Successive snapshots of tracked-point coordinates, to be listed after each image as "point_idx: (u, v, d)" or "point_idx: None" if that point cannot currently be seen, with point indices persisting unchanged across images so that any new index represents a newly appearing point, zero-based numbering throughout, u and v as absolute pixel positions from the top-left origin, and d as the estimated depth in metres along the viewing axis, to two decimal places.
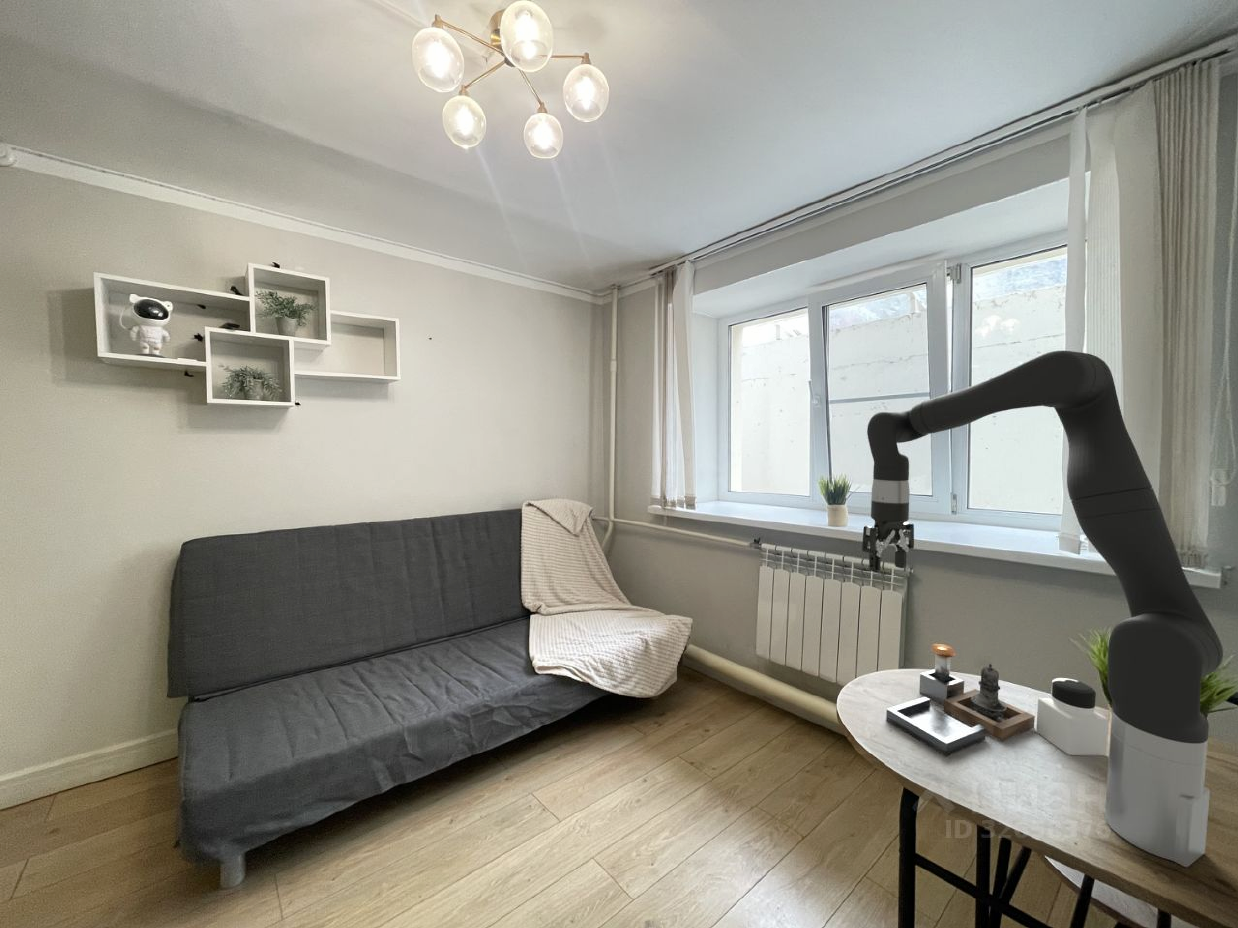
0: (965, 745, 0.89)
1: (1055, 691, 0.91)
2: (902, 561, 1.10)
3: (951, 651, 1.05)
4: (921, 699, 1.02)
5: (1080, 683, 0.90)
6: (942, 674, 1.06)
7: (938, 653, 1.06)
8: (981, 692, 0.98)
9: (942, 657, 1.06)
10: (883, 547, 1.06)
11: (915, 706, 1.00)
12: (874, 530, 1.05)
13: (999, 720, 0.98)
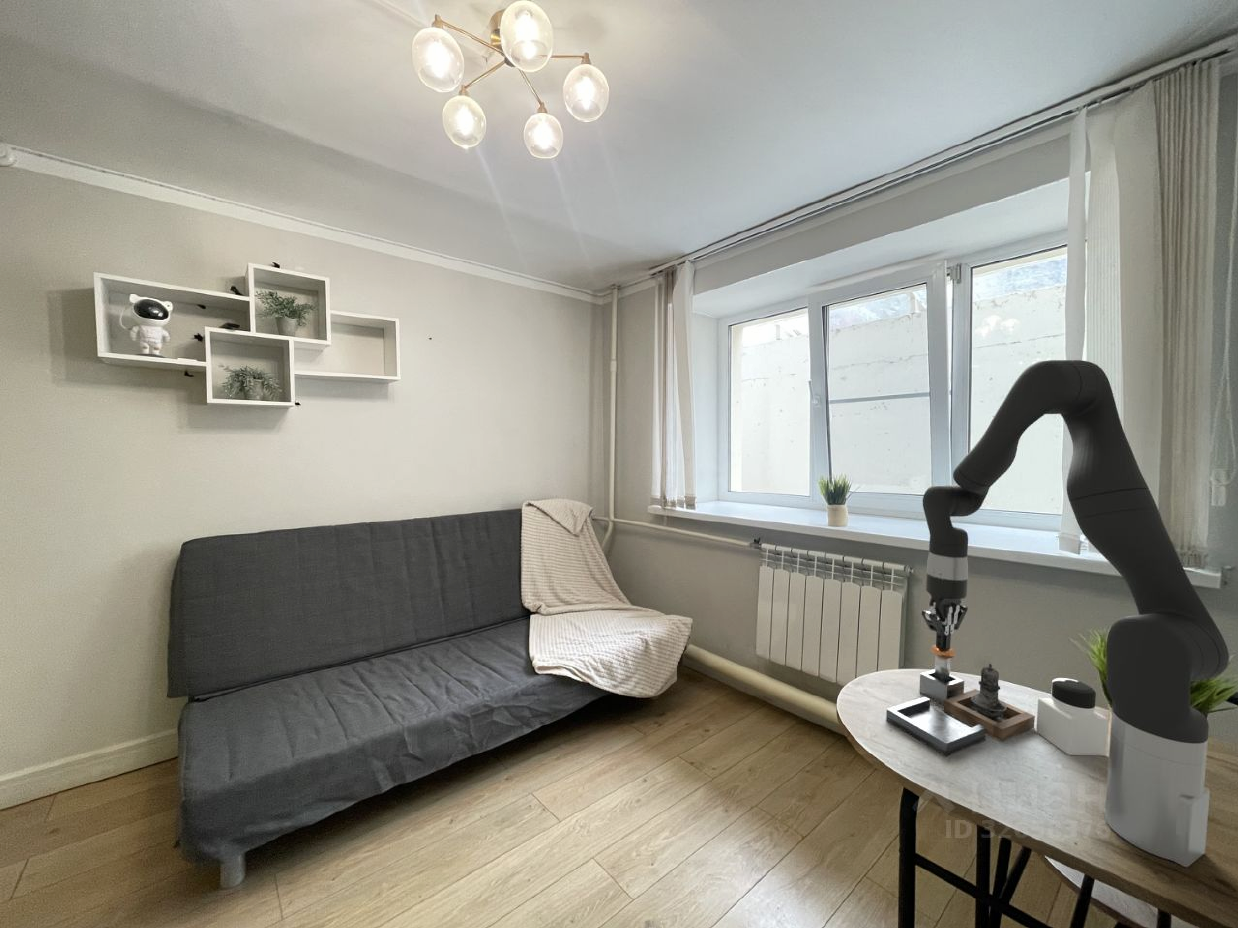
0: (965, 745, 0.89)
1: (1055, 691, 0.91)
2: None
3: (951, 652, 1.05)
4: (921, 699, 1.02)
5: (1080, 683, 0.90)
6: (942, 675, 1.06)
7: (938, 653, 1.06)
8: (981, 692, 0.98)
9: (942, 658, 1.06)
10: (948, 625, 1.05)
11: (915, 706, 1.00)
12: (933, 617, 1.03)
13: (999, 720, 0.98)
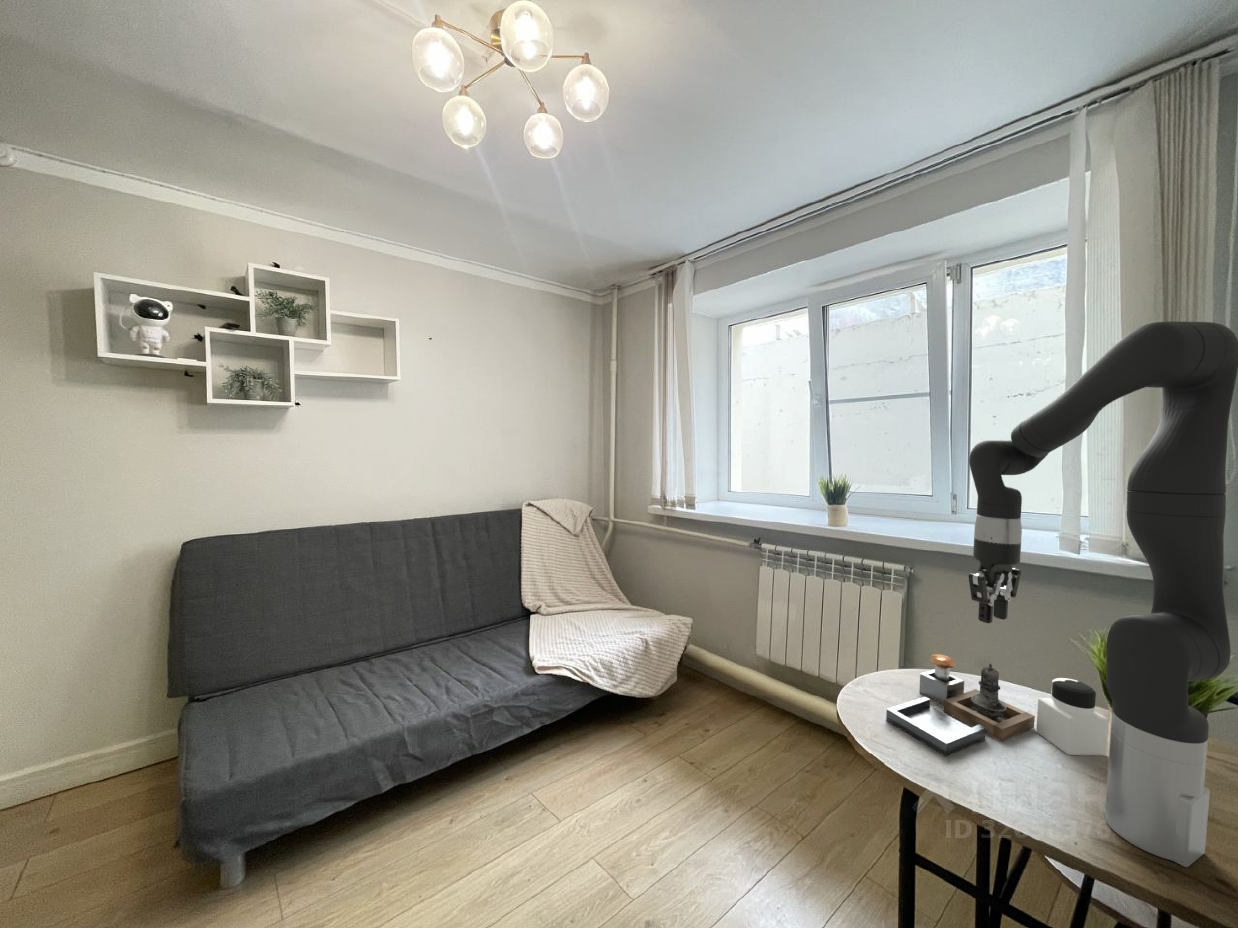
0: (965, 745, 0.89)
1: (1055, 691, 0.91)
2: (1003, 612, 0.98)
3: (951, 662, 1.05)
4: (921, 699, 1.02)
5: (1080, 683, 0.90)
6: None
7: (937, 663, 1.06)
8: (981, 692, 0.98)
9: (941, 668, 1.06)
10: (995, 594, 0.95)
11: (915, 706, 1.00)
12: (982, 579, 0.93)
13: (999, 720, 0.98)
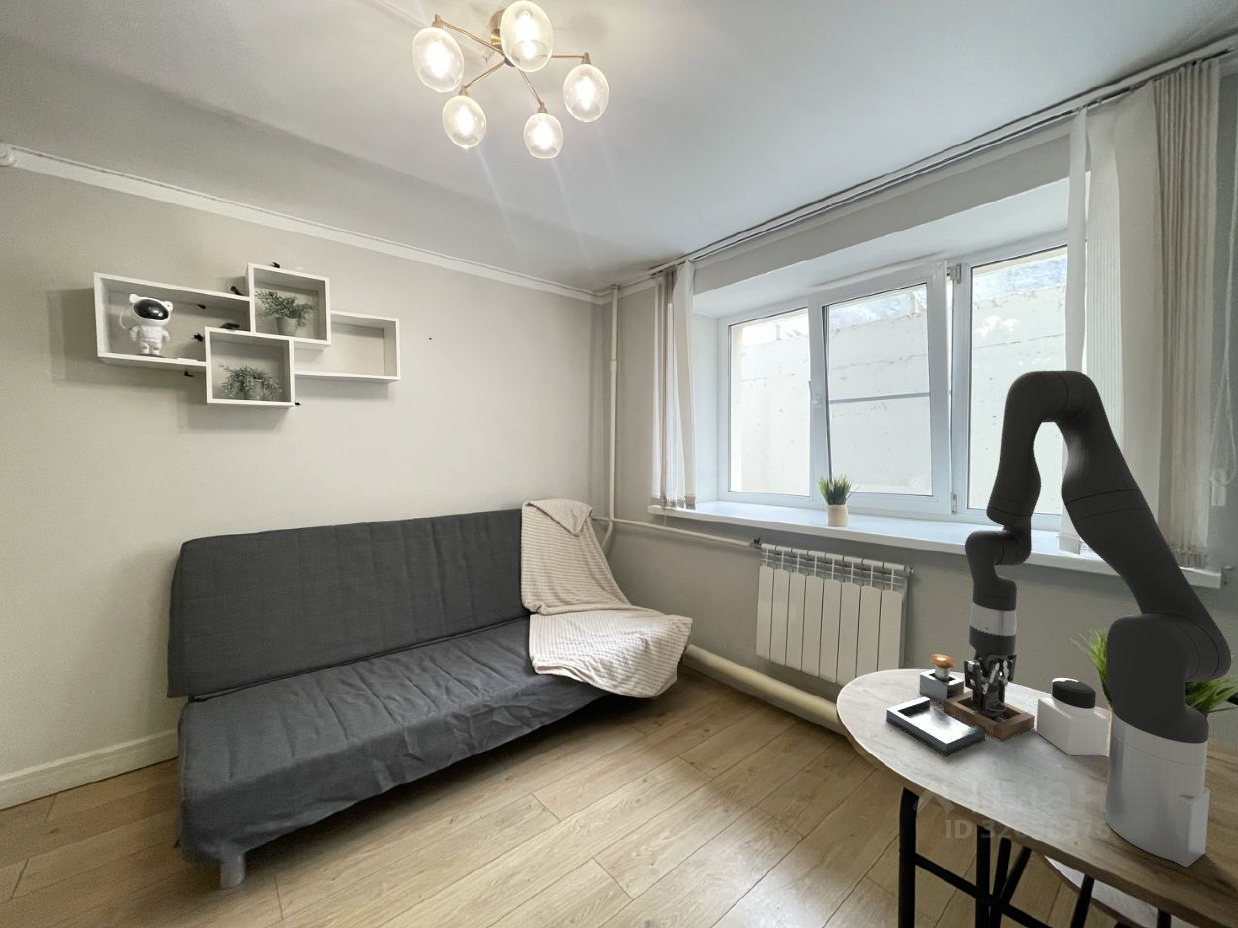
0: (965, 745, 0.89)
1: (1055, 691, 0.91)
2: (1000, 696, 0.99)
3: (951, 662, 1.05)
4: (921, 699, 1.02)
5: (1080, 683, 0.90)
6: None
7: (937, 663, 1.06)
8: None
9: (941, 668, 1.06)
10: (988, 683, 0.96)
11: (915, 706, 1.00)
12: (977, 668, 0.94)
13: (999, 720, 0.98)
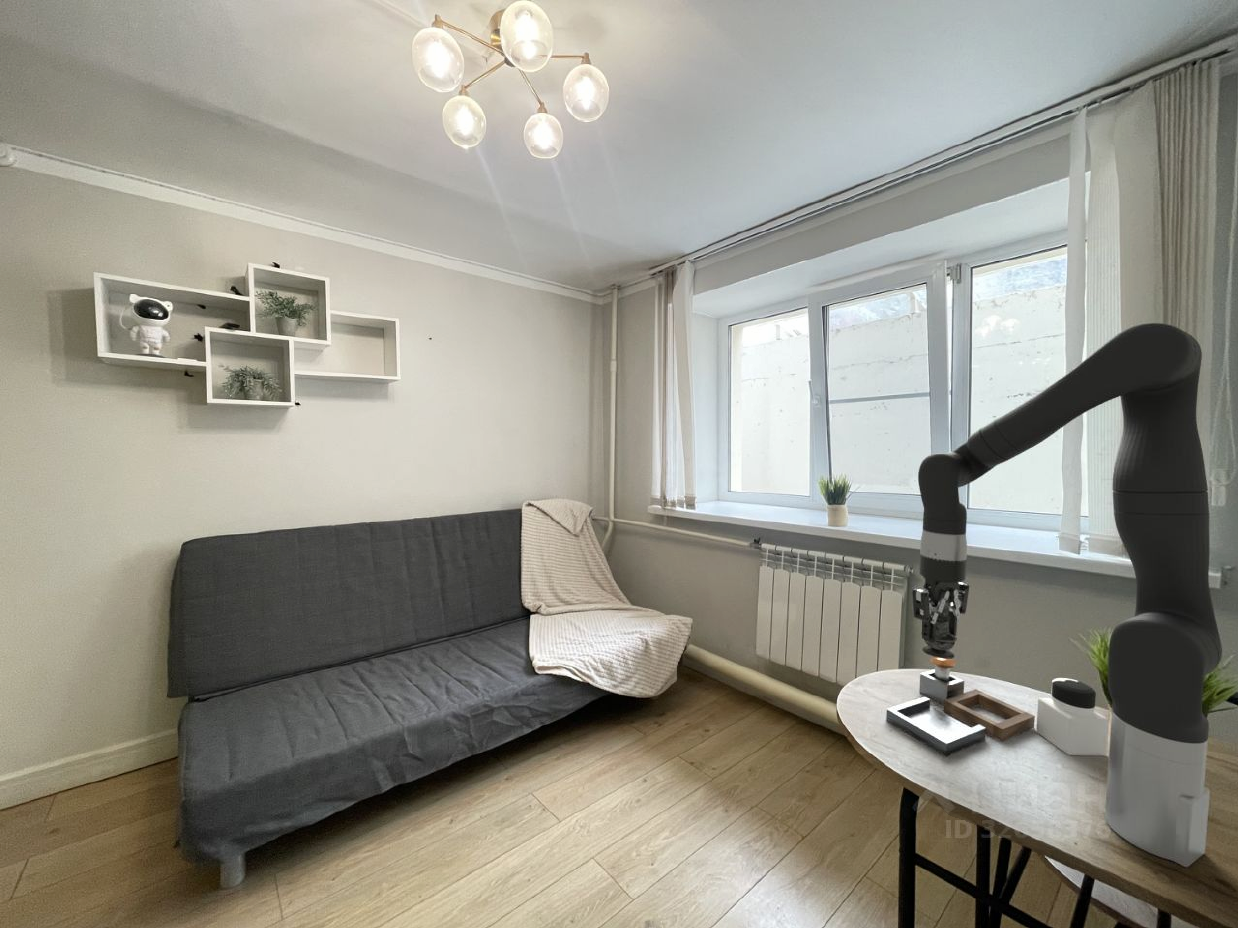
0: (965, 745, 0.89)
1: (1055, 691, 0.91)
2: (952, 628, 0.94)
3: (951, 662, 1.05)
4: (921, 699, 1.02)
5: (1080, 683, 0.90)
6: None
7: (937, 663, 1.06)
8: None
9: (941, 668, 1.06)
10: (938, 612, 0.91)
11: (915, 706, 1.00)
12: (925, 595, 0.90)
13: (950, 653, 0.93)
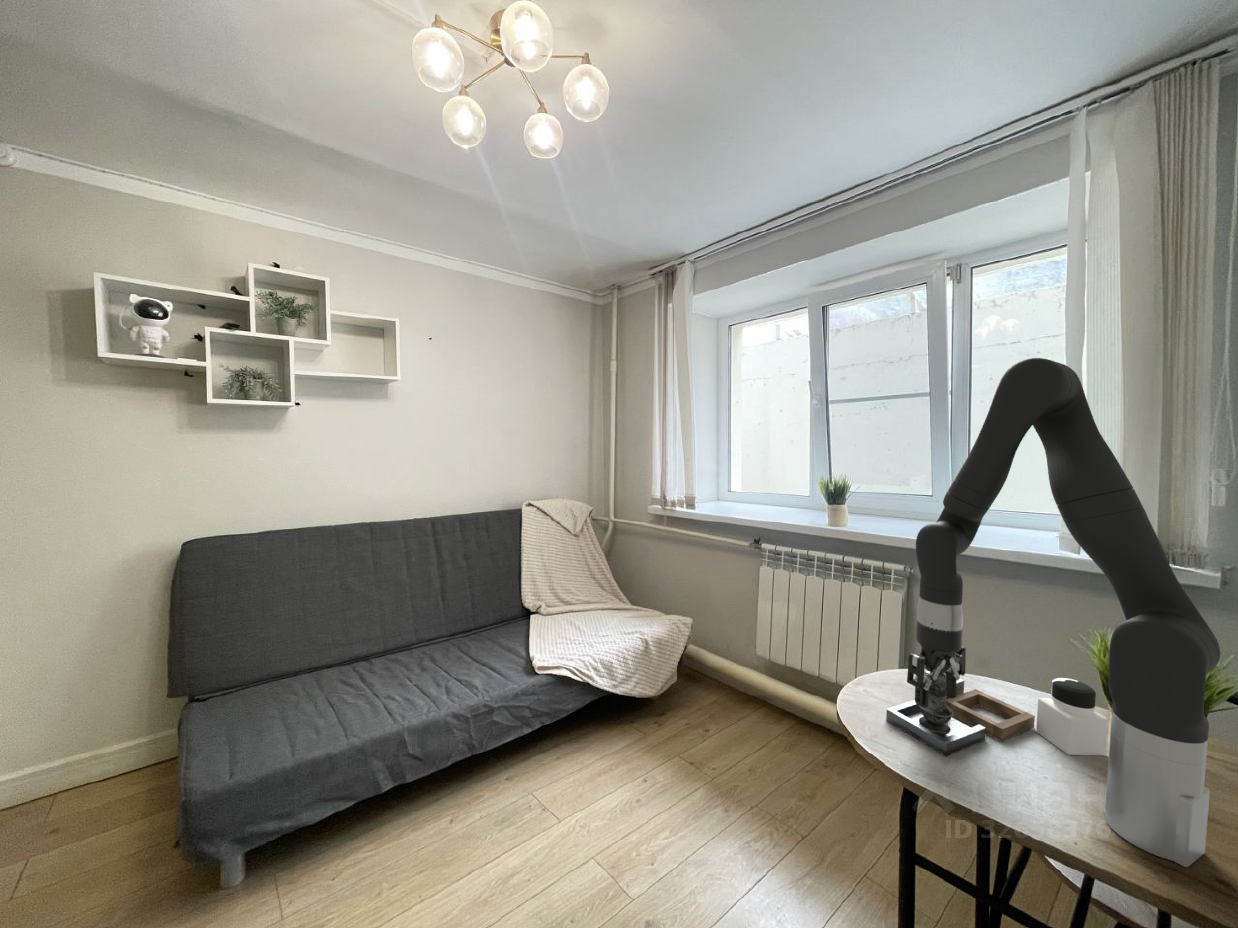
0: (965, 745, 0.89)
1: (1055, 691, 0.91)
2: (952, 690, 0.95)
3: None
4: None
5: (1080, 683, 0.90)
6: None
7: None
8: None
9: None
10: (932, 679, 0.92)
11: (915, 706, 1.00)
12: (922, 661, 0.90)
13: (946, 726, 0.94)
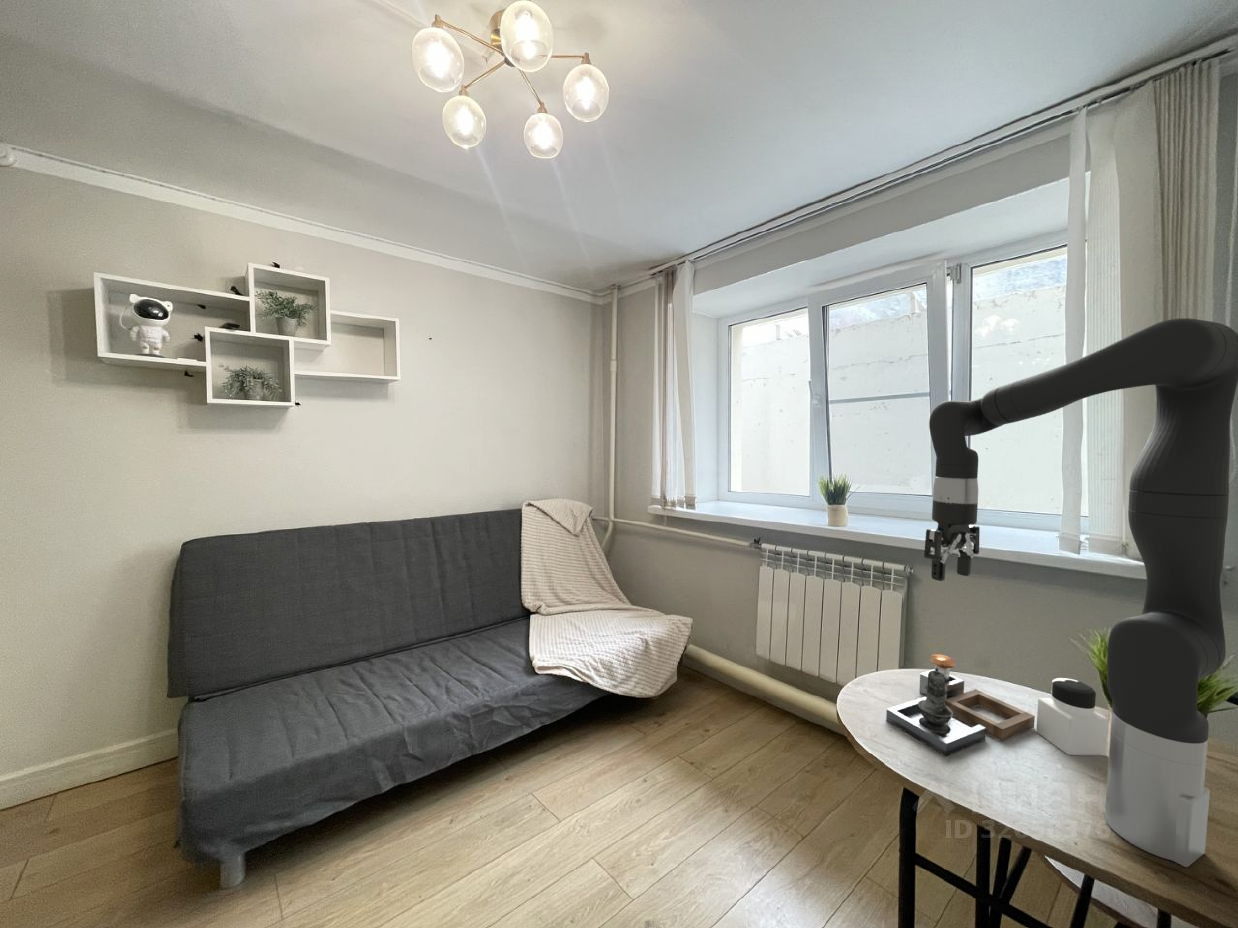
0: (965, 745, 0.89)
1: (1055, 691, 0.91)
2: (966, 568, 0.98)
3: (951, 662, 1.05)
4: (921, 699, 1.02)
5: (1080, 683, 0.90)
6: None
7: (937, 663, 1.06)
8: (928, 697, 0.95)
9: (941, 668, 1.06)
10: (948, 553, 0.94)
11: (915, 706, 1.00)
12: (939, 534, 0.93)
13: (946, 726, 0.94)
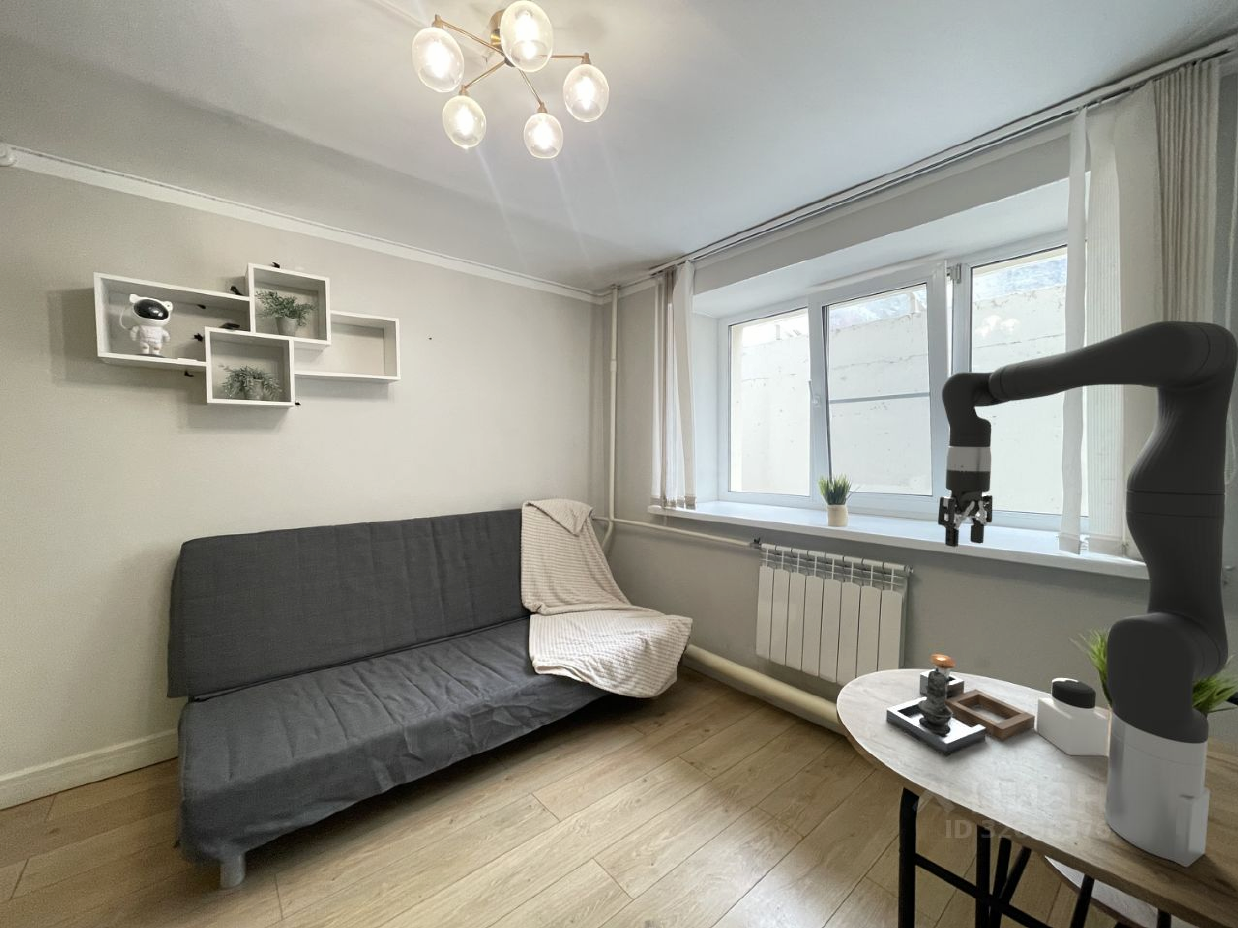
0: (965, 745, 0.89)
1: (1055, 691, 0.91)
2: (979, 536, 1.01)
3: (951, 662, 1.05)
4: (921, 699, 1.02)
5: (1080, 683, 0.90)
6: None
7: (937, 663, 1.06)
8: (928, 697, 0.95)
9: (941, 668, 1.06)
10: (962, 519, 0.97)
11: (915, 706, 1.00)
12: (953, 500, 0.96)
13: (946, 726, 0.94)
